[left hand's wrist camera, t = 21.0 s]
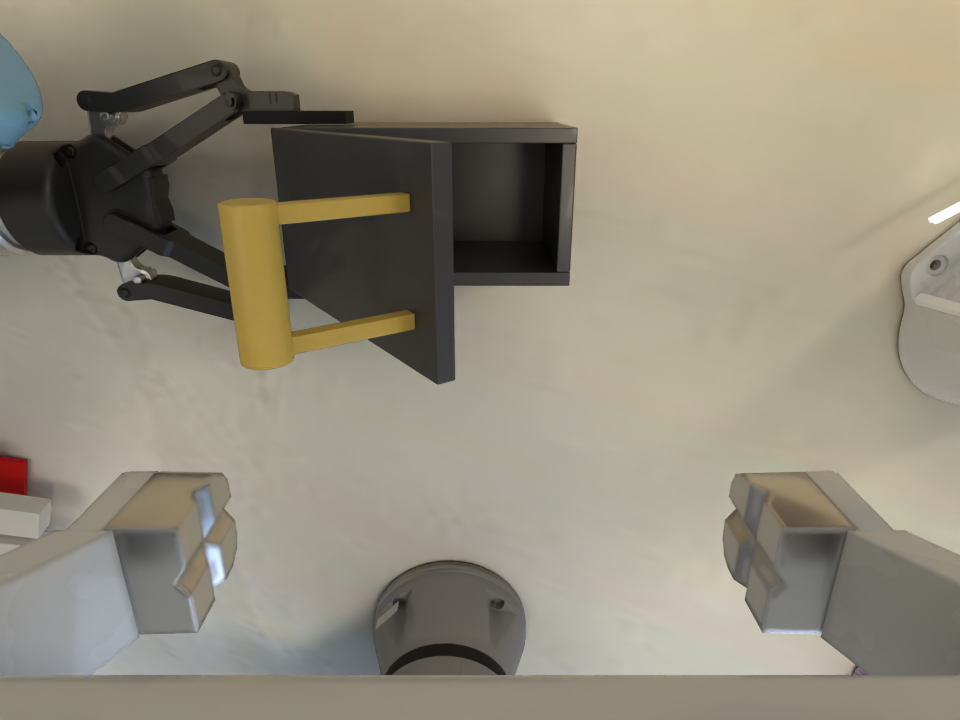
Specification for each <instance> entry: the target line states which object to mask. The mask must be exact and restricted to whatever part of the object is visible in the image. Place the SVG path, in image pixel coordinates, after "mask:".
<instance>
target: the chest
mask: <svg viewBox="0 0 960 720" xmlns="http://www.w3.org/2000/svg"><path fill="white" fill-rule="evenodd" d="M283 128H293V129H305V130H316V131H328V132H340V133H352V134H363V135H375V136H387V137H398V138H410V139H422V140H433V141H445V142H451V143H452V204H453V272H454V286H569V280H570V260H571V241H572V222H573V204H574V185H575V166H576V147H577V145H576V143H577V130H578V129H577V128H575V127H571V126H567V125H563V124H559V123H483V122H354V123H349V124H308V125H299V126H291V127H283Z"/></svg>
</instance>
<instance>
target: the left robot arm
mask: <svg viewBox="0 0 960 720" xmlns="http://www.w3.org/2000/svg"><path fill="white" fill-rule="evenodd" d="M958 212H960V202H959V203H957V204H955V205H953V206H951V207H949V208H947V209H945V210H943V211H941V212H940V213H938V214H936V215H934V216H932V217H930V218H929V221H930V222H932V223H936V224H937V223H939V222H941V221H943V220H944V219H946V218H948V217H950V216H952V215H954V214H956V213H958ZM934 260H935V264H934V266H933V267H931V268H930V264H931V262H932V261H934ZM901 285H902V291H903V296H904V301H905V308H904V313H903V317H902V321H901V326H900V331H899V339H898V348H899V356H900V360H901V364H902V367H903V369H904V371H905V373H906V375H907V376H908V378H909V379H910V381H911V382H912V383H913V384H914V385H915V386H916V387H917V388H918V389H919V390H921V391H922V392H924V393H925V394H927V395H929V396H931V397H933V398H935V399H938V400H941V401H945V402H950V403H955V404H960V221H959V222H958V223H957V224H955V225H954V226H953V227H952V228H950V229H949V230H948V231H947V232H945V233H944V234H943V235H942V236H941V237H939V238H938V239H937V240H936V241H934V242H933V243H932V244H931V245H929V246H928V247H927V248H926V249H924V250H923V251H922V252H921V253H919V254H918V255H917V256H916V257H914V258H913V259H912V260H911V261H909V262H908V263H907V264H906V266H905V267H904V269H903V271H902V274H901ZM230 497H231V494H230V489H229V484H228V479H227V478H226V477H225V476H224V475H223V473H212V472H158V471H131V472H125V473H122V474H121V475H120V476H119V477H118V478H117V479H116V480H115V481H114V482H113V483H112V484H111V485H110V486H109V487H108V488H107V489H106V490H105V491H104V492H103V493H102V494H101V495H100V496H99V497H98V498H97V499H96V500H95V501H94V502H93V503H92V504H91V505H90V506H89V507H88V508H87V509H86V510H85V511H84V512H83V513H82V515H81V516H80V517H79V518H78V519H77V520H76V521H75V522H74V523H73V524H72V525H71V526H70V527H69V528H68V529H67V530H57V531H53V532H51V533H49V534H46V535H44V536H42V537H40V538H38V539H35V540H33V541H31V542H29V543H26V544H24V545H22V546H20V547H17V548H15V549H13V550H11V551H9V552H6V553H4V554H2V555H0V720H960V555H958V554H956V553H954V552H951V551H949V550H947V549H945V548H942V547H940V546H938V545H936V544H934V543H931V542H929V541H927V540H925V539H922V538H920V537H918V536H916V535H914V534H911V533H909V532H907V531H903V530H893V529H892V528H891V527H890V526H889V525H888V524H887V523H886V522H885V521H884V520H883V518H882V517H881V516H880V515H879V514H878V513H877V512H876V511H875V510H874V509H873V508H872V507H871V506H870V505H869V504H868V503H867V502H866V501H865V500H864V499H863V498H862V497H861V496H860V495H859V494H858V493H857V492H856V491H855V490H854V489H853V488H852V487H851V486H850V485H849V484H848V483H847V482H846V481H845V480H844V479H843V478H842V477H841V476H840V475H839V474H838V473H835V472H832V471H812V472H780V473H742V474H735V476H734V478H733V481H732V483H731V488H730V493H729V497H730V499H731V501H732V502H733V504H734V505H735V507H736V509H735V510H734V511H733V512H732V514H731V515H730V516H729V517H728V518H727V519H726V520H725V524H724V531H723V548H724V557H725V560H726V563H727V567H728V569H729V571H730V573H731V575H732V577H733V579H734V580H735V581H737V582H738V583H740V584H742V585H743V586H745V587H746V588H747V590H746V596H745V601H746V603H747V605H748V607H749V609H750V611H751V612H752V614H753V616H754V618H755V620H756V622H757V623H758V625H759V627H760V629H761V631H762V633H790V634H821V638H823V639H824V640H825V641H826V642H828V643H829V644H830V645H832V646H833V647H834V648H835V649H837V650H838V651H839V652H840V653H842V654H843V655H844V656H845V657H847V658H848V659H849V660H851V661H852V662H853V663H854V664H856V665H857V666H858V667H859V668H861V669H862V670H863V671H864V672H866V673H867V674H868V675H92V674H93V673H94V672H96V671H97V670H98V669H100V668H101V667H102V666H103V665H105V664H106V663H107V662H108V661H110V660H111V659H112V658H113V657H115V656H116V655H117V654H119V653H120V652H121V651H122V650H124V649H125V648H126V647H127V646H129V645H130V644H131V643H133V642H134V641H135V640H136V639H138V638H139V634H169V633H198V631H199V629H200V627H201V625H202V623H203V622H204V620H205V618H206V616H207V614H208V612H209V611H210V609H211V607H212V605H213V603H214V601H215V596H214V590H213V588H214V587H215V586H217V585H218V584H220V583H222V582H223V581H225V580H226V579H227V577H228V575H229V573H230V571H231V569H232V567H233V564H234V559H235V555H236V550H237V530H236V523H235V520H234V519H233V518H232V517H231V516H230V515H229V513H228V512H227V511H226V510H225V509H224V507H225V505H226V504H227V502H228V501H229V499H230Z"/></svg>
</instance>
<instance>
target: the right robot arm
mask: <svg viewBox="0 0 960 720" xmlns="http://www.w3.org/2000/svg"><path fill="white" fill-rule="evenodd" d="M213 88H218V90H219V92H220V94H221V96H219V97H218V98H216V99H215V100H213V101H212V102H210V103H209V104H207V105H206V106H204V107H203V108H201V109H200V110H198V111H197V112H195V113H194V114H192V115H191V116H189V117H188V118H186V119H185V120H183V121H182V122H180V123H179V124H177V125H176V126H174V127H173V128H171V129H170V130H168V131H167V132H165V133H164V134H162V135H161V136H159V137H158V138H156V139H155V140H153V141H152V142H150V143H149V144H146V145H144V146H142V147H140V148H138V149H137V150H135V149H134V148H132V147H131V146H129V145H128V144H126V143H125V142H123V141H122V140H120V139H119V138H117V137H116V136H114V135H113V130H114V128H115V127H116V126H118V125H122V124H124V123H125V122H126V120H127V118H128V114H127V112H140V111H144V110H147V109H151V108H154V107H157V106H160V105H163V104H166V103H169V102H173V101H176V100H179V99H182V98H185V97H188V96H191V95H195V94H198V93H201V92H204V91H207V90H210V89H213ZM77 103H78V105H79V106H80V108H82V109H83V110H86V111H87V112H88V119H89V126H90V134H91V135H88V136H87V137H85V138H84V139H82V140H80V141H21V142H17V140H18V139H19V138H20V137H22V136H23V135H24V134H25V133H27V132H28V131H29V130H30V129H32V128H33V127H34V126H35V125H36V124H37V123H38V122H39V120H40V118H41V115H42V111H43V103H42V97H41V93H40V90H39V87H38V85H37V83H36V80H35V78H34V76H33V74H32V73H31V71H30V69H29V68H28V66H27V64H26V63H25V62H24V60H23V59H22V57H21V56H20V55H19V54H18V52H17V51H16V50H15V49H14V48H13V46H12V45H11V44H10V43H9V42H8V41H7V40H6V39H5V38H4V37H3V36H2V35H1V34H0V255H29V254H34V253H35V254H39V255H100V256H104V257H107V258H109V259H111V260H113V261H116V262H117V263H118V267H119V270H120V274H121V277H122V281H123V284H122V285H120V286H119V287H118V289H117V293H118V295H119V297H120V298H121V299H123V300H126V301H133V300H147V299H153V300H157V301H161V302H164V303H168V304H172V305H176V306H180V307H184V308H188V309H191V310H195V311H199V312H203V313H207V314H211V315H214V316H218V317H222V318H226V319H230V320H234V315H233V309H232V302H231V295H230V291H229V290H225V289H221V288H217V287H213V286H210V285H206V284H202V283H198V282H195V281H191V280H187V279H183V278H179V277H176V276H171V275H163V274H162V275H157V271H156V270H155V269H153V268H151V267H148V266H144V265H142V264H141V263H140V262H139V261H138V259H137V257H138V256H140V255H141V254H142V253H143V252H144V251H146V250H147V249H148V250H150V251H152V252H154V253H156V254H158V255H161V256H166V257H170V258H173V259H175V260H176V261H178V262H180V263H182V264H184V265H186V266H188V267H190V268H192V269H194V270H196V271H198V272H200V273H202V274H204V275H206V276H208V277H210V278H212V279H214V280H216V281H218V282H220V283H222V284H224V285H225V286H227V287H229V282H228V275H227V268H226V261H225V254H224V252H222V251H220V250H218V249H216V248H214V247H212V246H210V245H208V244H206V243H205V242H203V241H201V240H199V239H197V238H195V237H193V236H191V235H190V234H189V232H188V231H187V230H185V229H183V228H181V227H179V226H177V225H175V224H173V223H172V221H173V220H175V216H174V211H173V207H172V205H171V203H170V200H169V198H168V194H169V182H168V176H167V174H164V173H163V171H162V170H161V169H163V168H164V167H166V166H167V165H169V164H170V163H172V162H174V161H175V160H176V159H177V158H178V157H179V156H180V155H182V154H183V153H185V152H187V151H188V150H190V149H191V148H193V147H194V146H196V145H197V144H199V143H200V142H202V141H203V140H205V139H206V138H208V137H209V136H211V135H213V134H214V133H216V132H217V131H219V130H220V129H222V128H223V127H225V126H226V125H228V124H229V123H231V122H232V121H234V120H235V119H237V118H238V117H240V116H242V115H243V121H244V124H349V123H354V114H353V111H300V101H299V95H297V94H295V93H292V92H283V91H276V92H275V91H250V90H248V89H247V88H246V87H245V86H244V84H243V82H242V80H241V78H240V71H239V68H238V67H237V65H235V64H234V63H231V62H226V61H220V60H212V61H208V62H205V63H202V64H199V65H196V66H193V67H190V68H187V69H184V70H181V71H178V72H174V73H171V74H168V75H165V76H162V77H159V78H156V79H153V80H150V81H147V82H144V83H140V84H137V85H134V86H131V87H128V88H125V89H122V90H119V91H116V92H109V91H81V92H79V93H78V95H77ZM284 271H285V280H286V289H287V297H288V299H304V298H303V297H301V296H300V295H298V294H297V293H295V292H293V291H292V290H290V289H289V287H288V278H287V269H286V265H284ZM373 633H374V644H375V649H376V653H377V658H378V663H379V668H380V672H381V675H515V673H516V670H517V667H518V664H519V661H520V658H521V655H522V652H523V649H524V645H525V639H526V622H525V613H524V609H523V605H522V603H521V601H520V599H519V597H518V595H517V594H516V592H515V591H514V589H513V588H512V587H511V586H510V585H509V584H508V583H507V582H506V581H505V580H503V579H502V578H501V577H499V576H498V575H496V574H495V573H493V572H491V571H489V570H487V569H485V568H482V567H479V566H476V565H473V564H468V563H463V562H450V561H449V562H435V563H430V564H425V565H422V566H419V567H416V568H414V569H411V570H409V571H407V572H406V573H404V574H402V575H401V576H399V577H398V578H397V579H395V580H394V581H393V582H392V583H391V584H390V585H389V586H388V587H387V588H386V590H385V591H384V593H383V594H382V596H381V598H380V600H379V603H378V605H377V609H376V614H375V619H374V626H373Z"/></svg>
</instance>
